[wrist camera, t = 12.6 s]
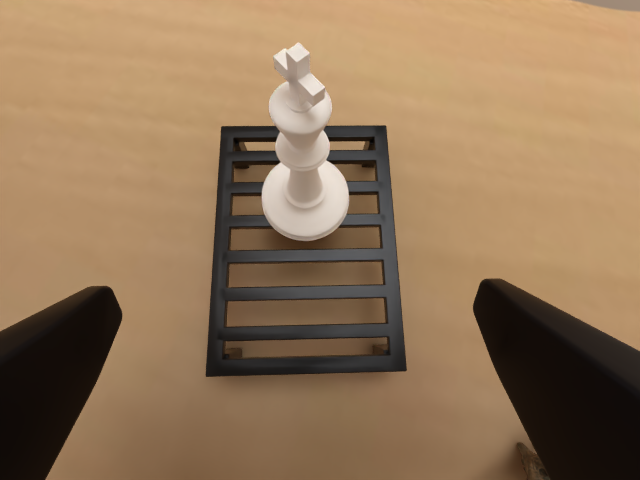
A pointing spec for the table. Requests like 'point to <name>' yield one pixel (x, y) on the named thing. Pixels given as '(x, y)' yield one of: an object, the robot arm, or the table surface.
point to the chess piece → (302, 155)
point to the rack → (231, 359)
